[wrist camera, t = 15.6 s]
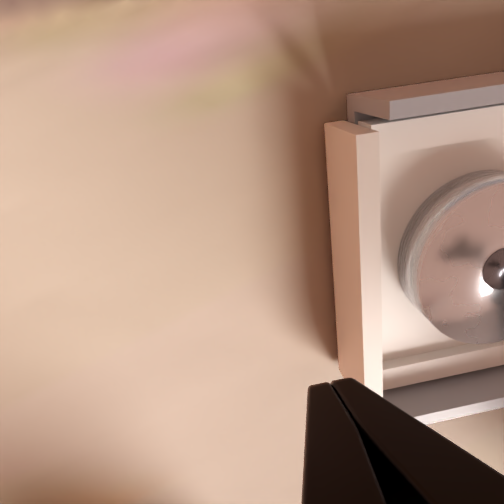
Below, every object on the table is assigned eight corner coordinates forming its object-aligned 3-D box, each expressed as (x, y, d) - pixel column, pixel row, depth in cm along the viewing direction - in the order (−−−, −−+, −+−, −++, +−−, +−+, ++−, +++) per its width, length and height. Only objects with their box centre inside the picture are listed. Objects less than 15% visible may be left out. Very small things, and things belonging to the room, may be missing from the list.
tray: (591, 82, 20) (674, 85, 16) (553, 324, 24) (611, 363, 21) (324, 123, 18) (356, 135, 15) (338, 369, 23) (365, 418, 20)
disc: (578, 205, 20) (621, 220, 18) (490, 337, 22) (520, 363, 20) (452, 142, 18) (485, 152, 16) (368, 293, 20) (388, 318, 18)
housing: (616, 54, 20) (719, 52, 16) (568, 332, 25) (636, 377, 21) (346, 94, 18) (389, 101, 15) (357, 376, 24) (391, 432, 20)
